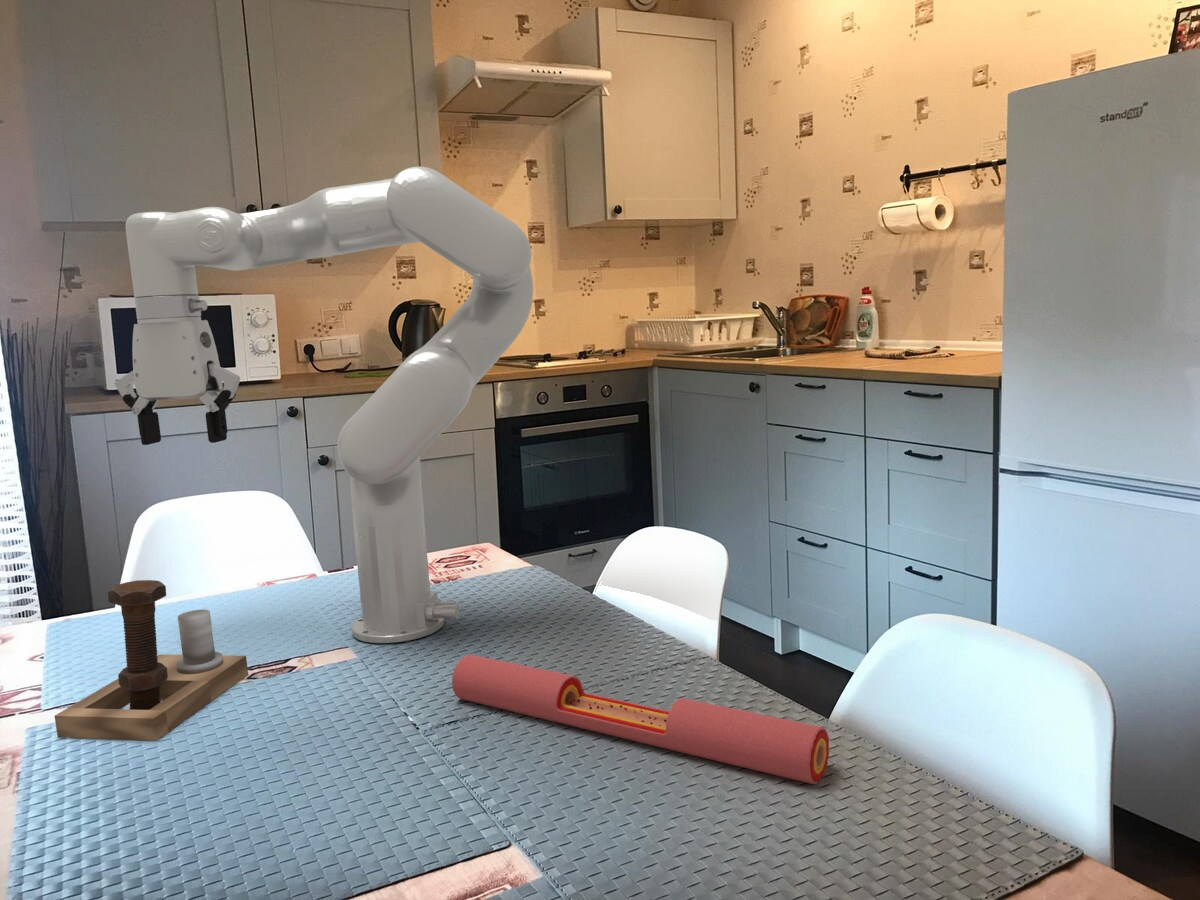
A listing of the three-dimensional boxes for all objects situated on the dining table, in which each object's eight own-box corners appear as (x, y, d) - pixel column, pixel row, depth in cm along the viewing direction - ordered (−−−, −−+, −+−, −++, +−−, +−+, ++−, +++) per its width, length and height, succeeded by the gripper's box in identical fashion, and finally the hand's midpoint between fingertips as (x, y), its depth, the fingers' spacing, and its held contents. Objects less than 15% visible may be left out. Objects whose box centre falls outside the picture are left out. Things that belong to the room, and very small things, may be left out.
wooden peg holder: (248, 674, 117) (240, 605, 116) (156, 740, 100) (145, 659, 99) (161, 673, 120) (152, 605, 118) (57, 737, 102) (45, 658, 101)
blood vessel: (830, 770, 86) (829, 718, 86) (810, 795, 82) (809, 741, 82) (482, 689, 110) (478, 648, 109) (452, 705, 106) (449, 663, 105)
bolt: (151, 725, 104) (142, 593, 102) (109, 724, 104) (99, 592, 102) (180, 705, 109) (172, 579, 108) (140, 703, 110) (131, 578, 108)
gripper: (245, 307, 123) (259, 436, 126) (128, 314, 127) (144, 440, 129) (212, 307, 116) (228, 444, 119) (88, 315, 119) (106, 448, 122)
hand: (184, 442), depth 124 cm, fingers open, 9 cm apart
